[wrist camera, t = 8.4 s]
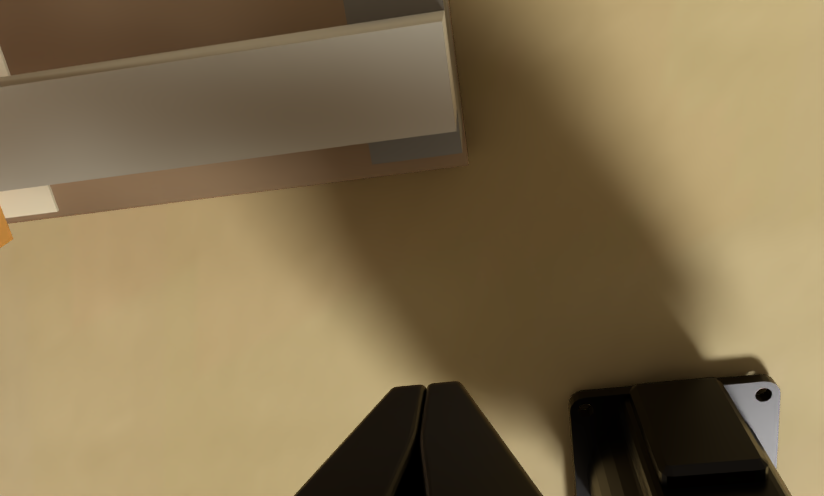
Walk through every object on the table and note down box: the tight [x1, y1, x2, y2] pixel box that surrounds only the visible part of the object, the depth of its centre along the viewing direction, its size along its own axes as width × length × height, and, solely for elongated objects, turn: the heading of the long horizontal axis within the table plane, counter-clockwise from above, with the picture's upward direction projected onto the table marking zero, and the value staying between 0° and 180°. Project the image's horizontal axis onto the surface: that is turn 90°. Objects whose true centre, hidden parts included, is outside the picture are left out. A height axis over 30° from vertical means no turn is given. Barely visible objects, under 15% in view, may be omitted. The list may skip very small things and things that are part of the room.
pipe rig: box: [0, 0, 468, 224], centre depth 18 cm, size 7×19×7 cm, turn 99°
